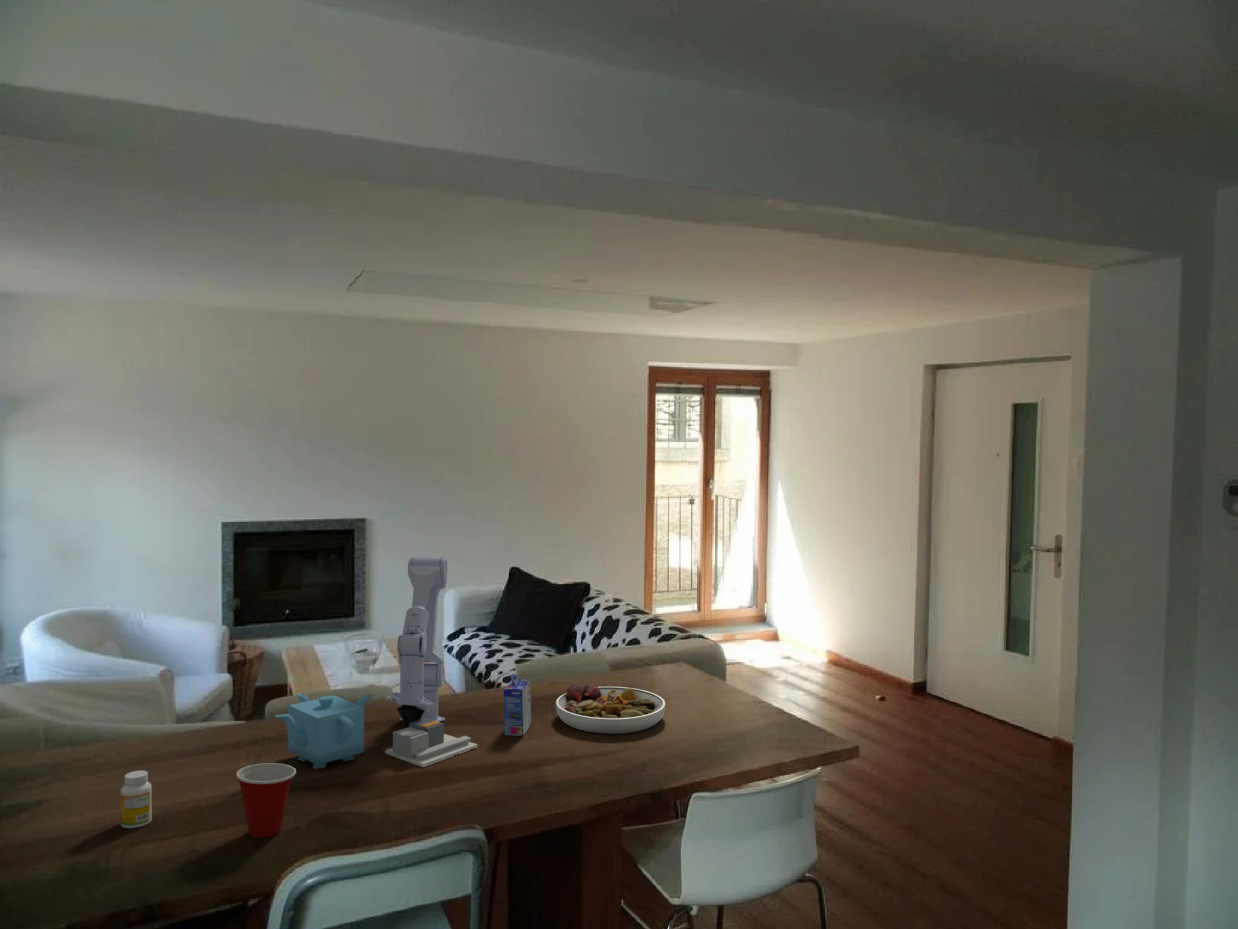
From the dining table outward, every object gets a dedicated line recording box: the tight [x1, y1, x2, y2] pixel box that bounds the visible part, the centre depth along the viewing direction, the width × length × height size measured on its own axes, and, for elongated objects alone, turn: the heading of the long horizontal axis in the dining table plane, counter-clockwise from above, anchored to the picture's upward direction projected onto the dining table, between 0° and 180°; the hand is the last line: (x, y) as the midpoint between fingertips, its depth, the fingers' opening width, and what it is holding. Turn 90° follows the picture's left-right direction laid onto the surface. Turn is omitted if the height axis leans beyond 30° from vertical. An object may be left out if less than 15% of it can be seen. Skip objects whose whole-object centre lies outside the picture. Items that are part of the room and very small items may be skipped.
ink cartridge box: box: [503, 673, 532, 737], centre depth 232 cm, size 10×6×14 cm, turn 174°
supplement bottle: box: [120, 770, 153, 829], centre depth 174 cm, size 5×5×10 cm
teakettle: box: [274, 692, 374, 769], centre depth 210 cm, size 19×19×15 cm
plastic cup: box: [236, 762, 297, 839], centre depth 171 cm, size 11×11×12 cm
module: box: [409, 718, 445, 748], centre depth 219 cm, size 7×5×5 cm
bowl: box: [555, 683, 666, 735], centre depth 242 cm, size 30×30×8 cm
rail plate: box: [384, 727, 478, 768], centre depth 216 cm, size 14×17×6 cm
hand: (411, 734), depth 222 cm, fingers closed
